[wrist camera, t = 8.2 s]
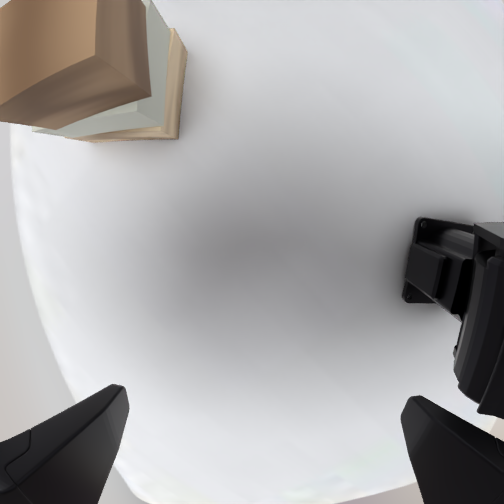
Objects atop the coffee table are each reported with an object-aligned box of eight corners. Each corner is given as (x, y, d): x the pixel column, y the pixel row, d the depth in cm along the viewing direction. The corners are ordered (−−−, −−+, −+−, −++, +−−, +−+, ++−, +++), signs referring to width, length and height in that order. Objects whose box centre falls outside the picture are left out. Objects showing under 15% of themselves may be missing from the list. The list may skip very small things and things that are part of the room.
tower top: (170, 31, 13) (150, -2, 9) (163, 126, 15) (137, 111, 11) (82, 50, 13) (48, 29, 9) (72, 137, 15) (32, 131, 11)
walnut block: (145, 6, 9) (104, -53, 5) (151, 96, 11) (95, 54, 6) (56, 43, 10) (-4, 10, 5) (56, 130, 11) (-19, 119, 6)
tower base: (188, 52, 17) (174, 28, 13) (178, 139, 19) (161, 130, 15) (105, 61, 17) (80, 43, 13) (94, 142, 19) (64, 138, 15)
